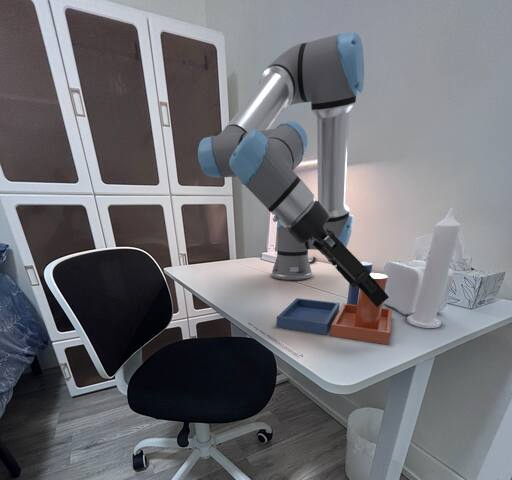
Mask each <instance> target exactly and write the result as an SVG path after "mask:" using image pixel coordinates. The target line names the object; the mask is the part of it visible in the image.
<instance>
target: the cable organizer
mask: <svg viewBox="0 0 512 480" xmlns="http://www.w3.org/2000/svg"><path fill="white" fill-rule="evenodd" d="M426 262H427V261H426V260H425V261H424V260H421V259H416V260H415V259H414V260H411V261H410V262H408V264H404V263H401V262H397V261H394V260H393V261H387V262H386V263H384V265H383V269H382V270H383V271H382V274H383V275H386V276H388V278H387V283H386V289H385V293H386V294H387V295H388V296H389V298H388V299H386V300H385V301H384V302H383V304H384V305H385V306H388V307H390V308H394V309H396V310H397V312H399V313H401V314H402V315H405V316H407V315H409V314H414V313H415V309H416V305H417V300H418V296H419V292H420V288H421V283H422V279H423V275H424V271H425V266H426ZM454 278H455V271H454V270H453V269H452V268H451V267H449V271H448V275H447V278H446V282H445V286H444V289H443V293H442V297H441V300H440V304H439V308H438V312H439V311H443V310H445V309H446V307H447V304H448V299H449V296H450V293H451V289H452V286H453V282H454Z"/></svg>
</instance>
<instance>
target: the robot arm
mask: <svg viewBox="0 0 512 480" xmlns="http://www.w3.org/2000/svg"><path fill="white" fill-rule="evenodd" d="M364 81H365V55H364V48H363V42H362V38H361V36H360V34H358V33H357V32H356V31H349V32H342V33H341V32H338V33H337V34H335V35H334V34H333V35H330V36H327V37H322V38H319V39H315V40H311V41H308V42H302V43H298V44H296V45H293V46H291V47H289V48H288V49H287V50H285V51H284V52H283V53H281V54H280V55H279V56H278V57H276V59H274V60H273V62H271V63H270V64H269V65H268V67H267V68H266V69H265V70H264V71H263V72H262V74H261V75H260V77H259V81H258V86H256V88H255V90H254V91H253V92H252V93H251V95H250V96H249V97H248V98H247V99H246V101H245V102H244V103H243V104H242V106H241V107H240V108H239V109H238V111H237V112H236V113H235V115H234V116H233V117H232V118H231V120H230V121H229V122H228V123H227V124H226V126H225V127H224V128H223V129H222V131H221V132H220V133H219V134H218V135H210V136H208V137H207V136H206V137H204V138H202V139H201V141H200V142H199V144H198V147H197V158H198V163H199V165H200V168H201V170H202V172H203V173H204V175H206V176H207V177H209V178H220V179H224V178H233V177H234V178H235V177H237V178H238V180H239V181H240V183H241V184H242V185H244V186H245V187H246V188H247V189H248V190H249V191H250V193H252V194H253V195H254V196H255V198H257V200H258V201H259V202H260V203H261V204H262V205H263V206H264V207H265V208H266V209H267V210H268V212H269V213H270V214H271V215H274V216H273V217H272V221H273V222H274V223H277V227H276V232H277V233H276V236H277V237H276V252H277V253H276V258H275V260H274V264H273V268H272V271H271V276H272V278H274V279H276V280H281V281H303V280H308V279H310V278H311V277H312V268H311V264H313V263H315V262H316V258H315V257H314V256H313V260H309V250H314V251H315V250H316V251H319V252H320V253H321V254H322V255H323V256H324V257H325V258H326V259H327V262H329V263H331V265H332V266H333V267H335V269H336V271H338V273H339V274H340V275H342V277H343V278H344V279H345V280H346V282H348V284H349V283H350V285H351V286H352V287H353V288H354V287H355V286H356V285H357V286H358V287H359V288H360V289H361V290H362V291H363V292H364V293H365V295H366V296H367V297H368V298H369V299H370V300H371V301H372V302H373V303H374V305H375V306H376V307H378V306H379V305H380V304H382V303H383V304H384V301H385V300H386V299H388V298H389V296H388V295H387V294H386V293H385V292H384V291H383V289H382V288H381V287H380V286H379V285H378V284H377V282H376V281H375V280H374V279H373V278H372V277H371V275H370V274H371V273H372V272H371V273H370V271H369V270H368V269H366V268H365V267H364V266H363V265H362V264H361V262H362V261H360V260H359V259H358V258H357V257H356V256H355V255H354V254H353V253H352V252H351V251H350V250H349V249H348V244H349V241H350V238H351V236H352V232H353V227H354V220H355V216H354V215H353V214H350V207H349V206H348V205H346V184H347V183H346V182H347V181H346V180H347V165H348V163H347V162H348V145H349V144H348V143H349V127H350V126H349V125H350V124H349V123H350V112H351V110H352V109H353V108H354V106H355V105H356V103H357V96H359V95H361V94H362V92H363V90H364ZM303 103H310V109H311V112H312V113H313V114H314V115H315V116H316V123H317V124H316V147H317V149H316V151H317V159H316V160H317V200H315V199H316V196H315V194H314V193H313V191H311V189H310V188H309V187H308V186H307V184H306V183H305V182H304V181H303V179H302V178H300V177H299V176H298V175H297V174H296V172H295V170H296V169H297V167H298V166H299V165H300V164H301V163H302V162H303V159H304V157H305V155H306V153H307V151H308V143H309V140H308V136H307V132H306V130H305V129H304V127H302V125H301V124H299V123H298V122H296V121H291V120H288V121H285V122H283V123H280V124H278V125H277V126H276V127H275V128H271V127H272V125H273V123H274V122H275V120H276V119H277V118H278V116H279V115H280V113H282V112H284V111H286V110H287V109H288V108H289V106H293V105H296V104H303Z"/></svg>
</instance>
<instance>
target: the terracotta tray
mask: <svg viewBox="0 0 512 480" xmlns="http://www.w3.org/2000/svg"><path fill="white" fill-rule="evenodd" d="M356 310H357V305H352V304H347V303H342V305H341V307H340V308H339V313H338V314H337V316H336V318H335V320H334V322H333V323H332V325H331V327H330V336H332V337H337V338H341V339H342V338H343V339H351V340H356V341H363V342H369V343H376V344H381V345H382V344H383V345H387V346H388V345H389V342H390V337H391V329H392V320H393V319H392V318H393V308H387V307H382V311H381V316H380V322H379V327H378V330H375V329H368V328H361V327H354V324H355V317H356Z"/></svg>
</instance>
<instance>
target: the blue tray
mask: <svg viewBox="0 0 512 480" xmlns="http://www.w3.org/2000/svg"><path fill="white" fill-rule="evenodd" d="M339 311H340V302H333V301H323V300H316V299H315V300H314V299H307V298H300V297H299V298H298V297H296V298H295V299H294V300H293V301H292V302H291V303H289V305H288V306H287V307H286V308H285V309H283V310H282V311H281V312H280V313H279V315H277V316H276V328H279V329H285V330H290V331H291V330H293V331H297V332H304V333H310V334H311V333H312V334H317V335H323V336H324V335H325V336H327V334H328V333H329V331H330V330H331V326H332V323H333V322H334V320H335V318H336V316H337V314H338V313H339Z"/></svg>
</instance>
